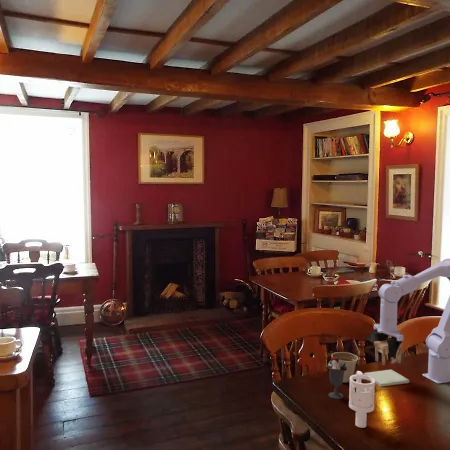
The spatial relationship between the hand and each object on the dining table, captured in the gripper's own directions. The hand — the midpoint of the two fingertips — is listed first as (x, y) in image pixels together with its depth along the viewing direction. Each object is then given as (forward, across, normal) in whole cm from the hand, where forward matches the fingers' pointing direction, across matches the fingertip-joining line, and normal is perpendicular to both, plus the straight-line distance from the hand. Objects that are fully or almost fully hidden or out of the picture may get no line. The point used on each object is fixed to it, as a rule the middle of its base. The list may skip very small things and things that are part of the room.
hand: (387, 354), depth 166 cm
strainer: (+10, +26, -28) cm, 39 cm away
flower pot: (+10, -4, -15) cm, 18 cm away
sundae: (+10, +7, -25) cm, 28 cm away
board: (+9, 0, 0) cm, 9 cm away
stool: (+3, 0, 0) cm, 3 cm away
